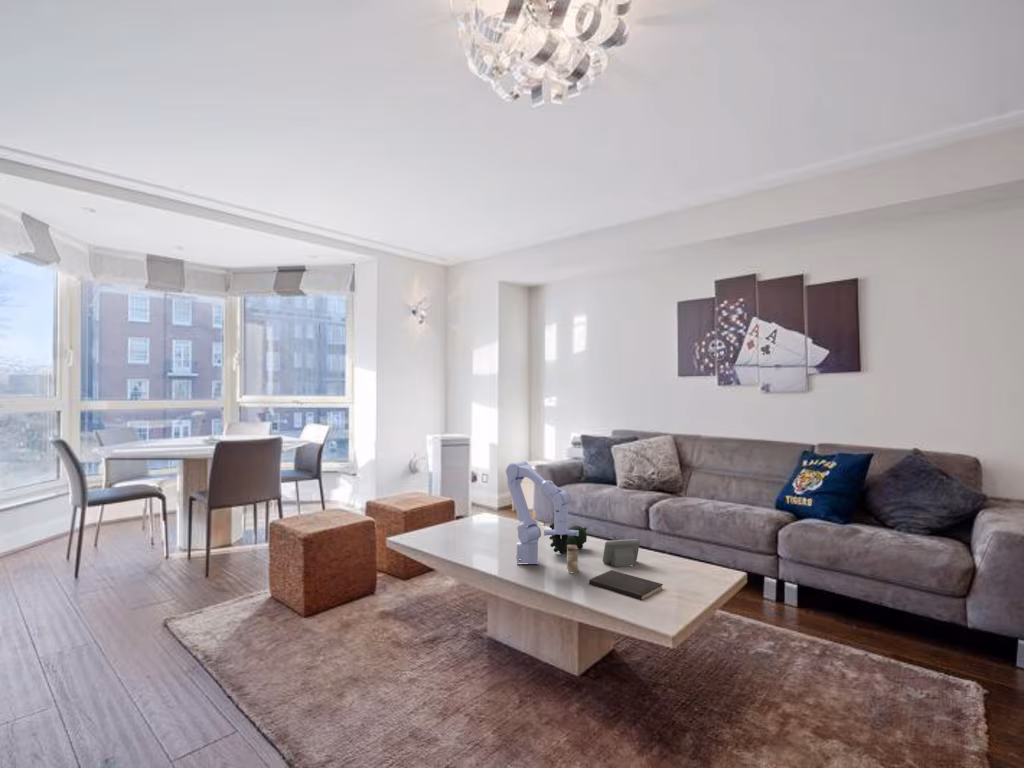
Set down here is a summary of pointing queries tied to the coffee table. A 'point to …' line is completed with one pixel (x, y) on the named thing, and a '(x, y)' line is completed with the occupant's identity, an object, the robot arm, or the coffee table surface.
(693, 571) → the coffee table surface
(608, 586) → the hardcover book
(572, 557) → the beech block
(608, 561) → the digital clock
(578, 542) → the toy figurine
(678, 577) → the coffee table surface
